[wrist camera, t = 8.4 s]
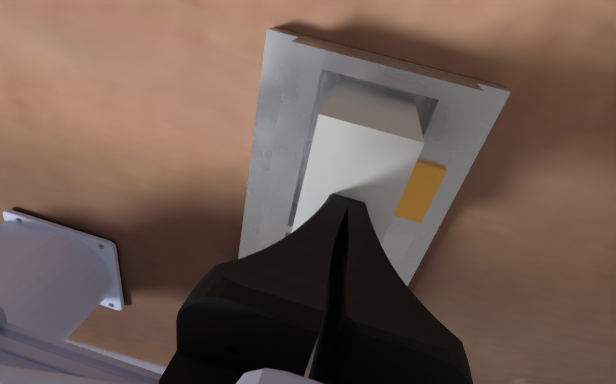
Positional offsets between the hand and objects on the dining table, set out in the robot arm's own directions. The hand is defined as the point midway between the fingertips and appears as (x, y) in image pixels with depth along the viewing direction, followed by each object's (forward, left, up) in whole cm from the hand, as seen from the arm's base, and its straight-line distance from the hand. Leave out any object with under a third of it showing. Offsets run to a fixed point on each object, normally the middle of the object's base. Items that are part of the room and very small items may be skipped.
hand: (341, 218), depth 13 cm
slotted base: (0, -5, -6) cm, 8 cm away
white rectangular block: (0, 0, -6) cm, 6 cm away
